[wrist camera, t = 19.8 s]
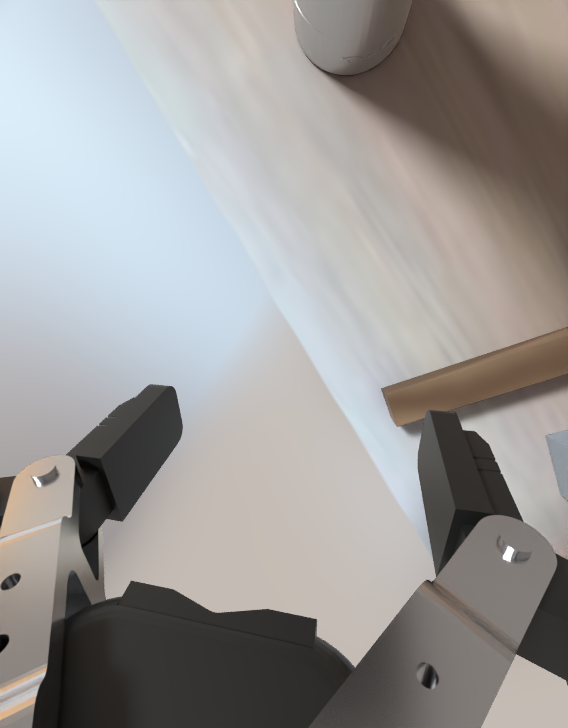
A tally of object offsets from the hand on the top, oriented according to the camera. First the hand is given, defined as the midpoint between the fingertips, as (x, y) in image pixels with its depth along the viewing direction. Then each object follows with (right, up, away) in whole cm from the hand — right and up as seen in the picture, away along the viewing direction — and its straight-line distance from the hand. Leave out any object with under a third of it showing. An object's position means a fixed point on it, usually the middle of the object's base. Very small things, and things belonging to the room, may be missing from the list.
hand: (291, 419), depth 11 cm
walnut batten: (+20, +2, +21) cm, 29 cm away
